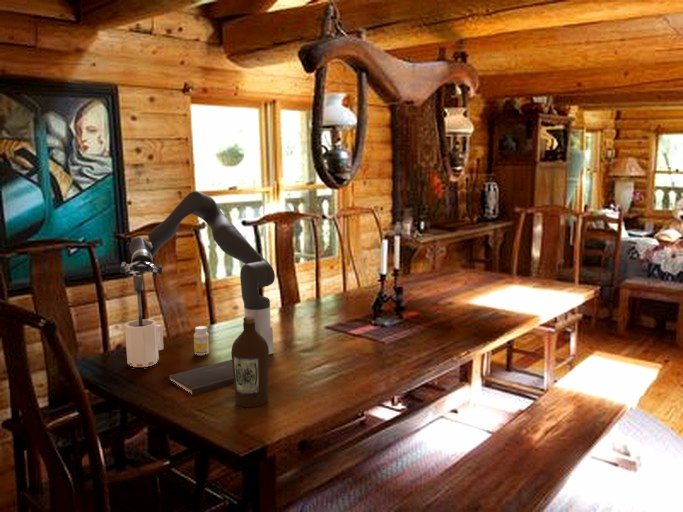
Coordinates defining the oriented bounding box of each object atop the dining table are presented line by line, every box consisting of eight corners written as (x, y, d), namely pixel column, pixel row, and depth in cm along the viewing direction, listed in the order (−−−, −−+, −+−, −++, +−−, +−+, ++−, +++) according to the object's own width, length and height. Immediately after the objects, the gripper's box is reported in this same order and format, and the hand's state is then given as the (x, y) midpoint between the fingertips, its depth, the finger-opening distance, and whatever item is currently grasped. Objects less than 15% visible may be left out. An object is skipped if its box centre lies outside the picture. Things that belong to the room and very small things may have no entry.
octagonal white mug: (170, 361, 207) (168, 321, 205) (138, 371, 198) (135, 329, 196) (154, 355, 214) (152, 316, 211) (122, 364, 205) (119, 323, 202)
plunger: (155, 329, 203) (152, 275, 200) (137, 333, 198) (133, 278, 195) (144, 325, 208) (141, 273, 205) (126, 330, 203) (122, 276, 200)
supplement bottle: (203, 356, 213) (202, 330, 211) (191, 354, 215) (190, 328, 213) (212, 351, 217) (211, 326, 216) (200, 350, 220) (199, 324, 218)
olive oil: (240, 393, 179) (237, 312, 175) (274, 394, 177) (272, 313, 173) (228, 407, 169) (224, 322, 165) (264, 409, 167) (261, 323, 163)
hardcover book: (169, 382, 190) (168, 375, 189) (232, 365, 204) (232, 359, 204) (192, 397, 178) (192, 389, 177) (257, 378, 192) (257, 371, 192)
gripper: (122, 250, 222) (120, 263, 207) (162, 252, 226) (162, 264, 211) (121, 270, 223) (119, 284, 209) (161, 271, 228) (162, 284, 213)
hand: (141, 274), depth 210 cm, fingers open, 8 cm apart
